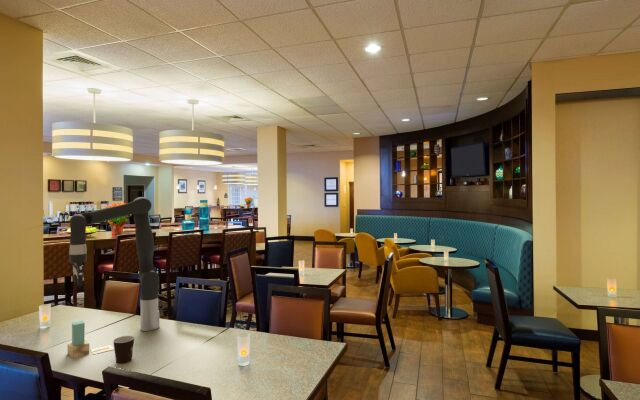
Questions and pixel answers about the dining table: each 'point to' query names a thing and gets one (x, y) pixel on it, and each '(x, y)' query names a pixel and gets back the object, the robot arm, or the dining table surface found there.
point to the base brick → (78, 349)
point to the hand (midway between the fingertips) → (78, 284)
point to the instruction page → (102, 349)
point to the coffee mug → (123, 349)
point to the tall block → (78, 333)
